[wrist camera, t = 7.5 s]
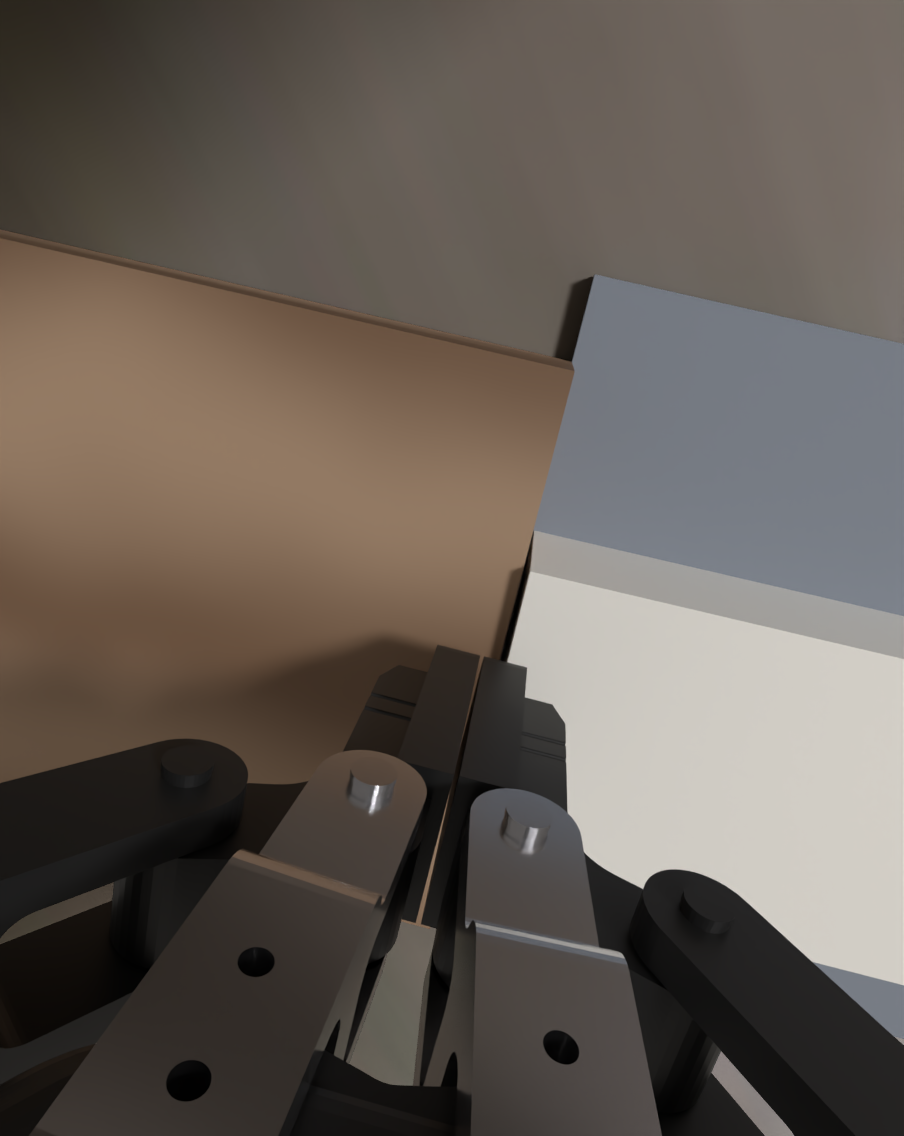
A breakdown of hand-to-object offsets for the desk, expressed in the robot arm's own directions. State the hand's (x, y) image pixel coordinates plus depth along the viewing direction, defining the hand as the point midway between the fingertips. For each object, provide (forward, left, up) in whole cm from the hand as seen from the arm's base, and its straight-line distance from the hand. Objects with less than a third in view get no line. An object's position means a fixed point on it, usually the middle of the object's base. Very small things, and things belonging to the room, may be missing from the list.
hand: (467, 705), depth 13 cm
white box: (+1, +5, -3) cm, 6 cm away
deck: (0, -6, -4) cm, 7 cm away
